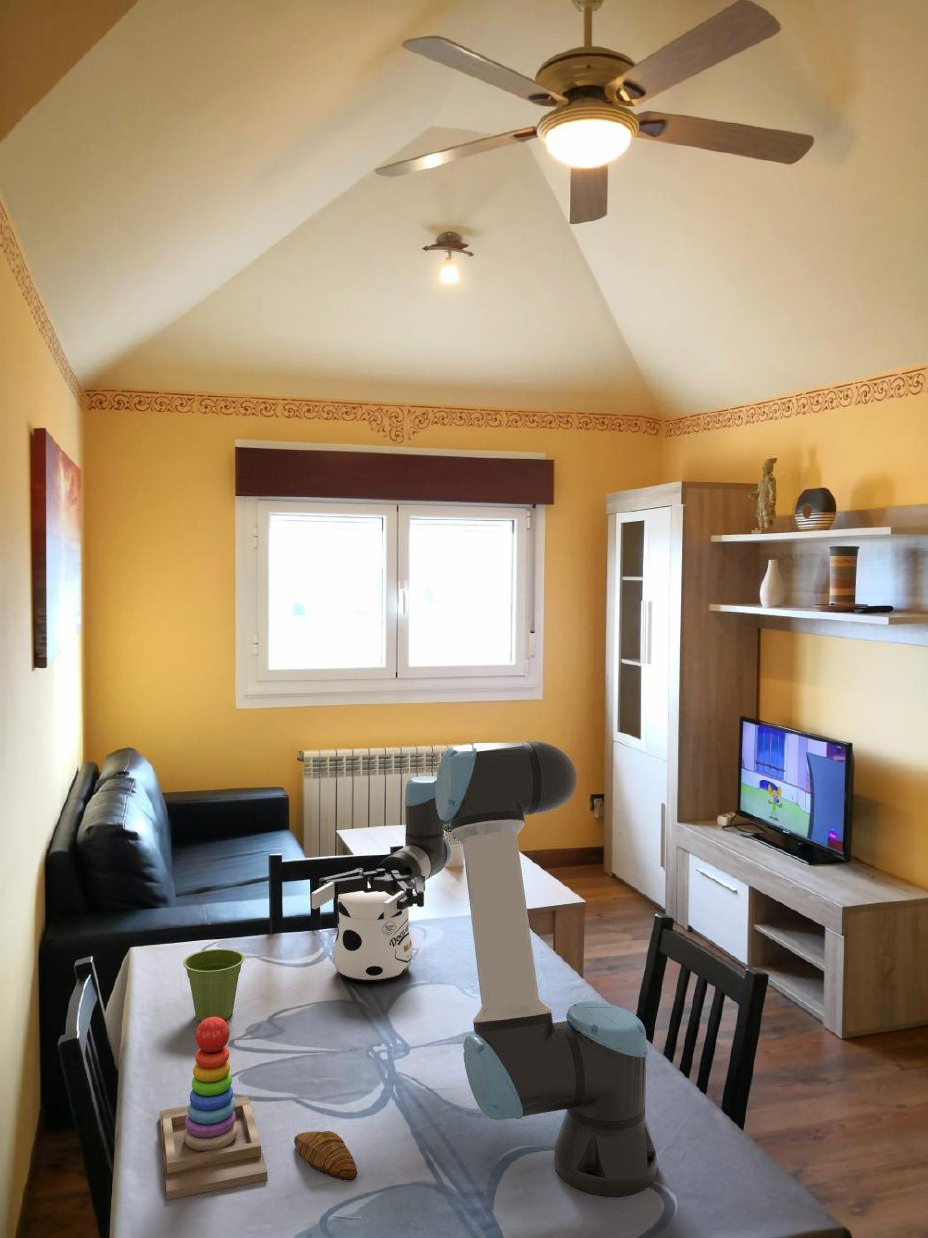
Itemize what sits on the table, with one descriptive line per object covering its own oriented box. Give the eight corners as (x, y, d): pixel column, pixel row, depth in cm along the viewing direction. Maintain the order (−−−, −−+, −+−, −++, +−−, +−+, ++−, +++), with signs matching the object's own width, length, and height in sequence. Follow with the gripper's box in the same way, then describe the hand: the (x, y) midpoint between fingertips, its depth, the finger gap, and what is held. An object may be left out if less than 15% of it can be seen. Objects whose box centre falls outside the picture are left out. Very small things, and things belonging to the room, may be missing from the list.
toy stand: (267, 1180, 144) (267, 1162, 144) (167, 1200, 139) (166, 1181, 139) (247, 1102, 164) (247, 1087, 164) (159, 1118, 160) (159, 1102, 160)
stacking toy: (223, 1157, 147) (222, 1034, 146) (174, 1150, 149) (173, 1028, 148) (246, 1128, 155) (245, 1011, 154) (198, 1122, 157) (197, 1006, 156)
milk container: (423, 981, 213) (423, 899, 212) (344, 994, 207) (344, 909, 206) (398, 952, 229) (398, 876, 228) (325, 963, 223) (325, 884, 222)
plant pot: (257, 1010, 199) (257, 955, 198) (214, 1034, 189) (214, 976, 188) (214, 997, 205) (213, 944, 204) (170, 1019, 195) (169, 963, 194)
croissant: (278, 1156, 150) (278, 1124, 150) (314, 1137, 155) (314, 1106, 155) (335, 1195, 141) (335, 1161, 141) (371, 1174, 146) (371, 1141, 146)
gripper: (465, 899, 181) (417, 938, 161) (344, 883, 190) (284, 918, 170) (465, 858, 180) (417, 892, 161) (344, 845, 189) (284, 875, 170)
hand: (349, 906), depth 165 cm, fingers open, 13 cm apart
